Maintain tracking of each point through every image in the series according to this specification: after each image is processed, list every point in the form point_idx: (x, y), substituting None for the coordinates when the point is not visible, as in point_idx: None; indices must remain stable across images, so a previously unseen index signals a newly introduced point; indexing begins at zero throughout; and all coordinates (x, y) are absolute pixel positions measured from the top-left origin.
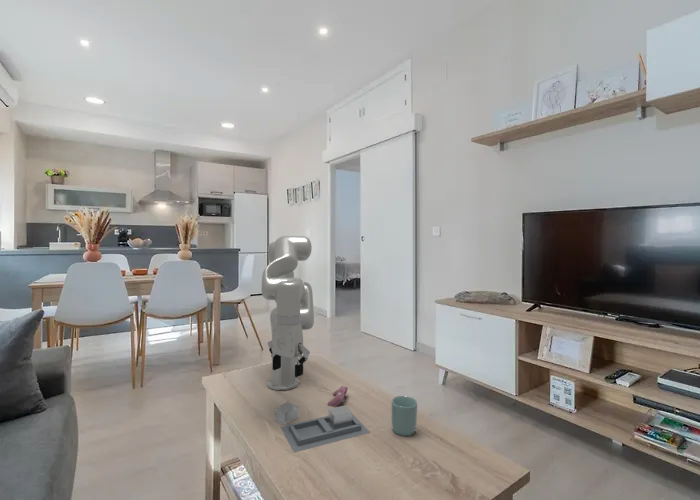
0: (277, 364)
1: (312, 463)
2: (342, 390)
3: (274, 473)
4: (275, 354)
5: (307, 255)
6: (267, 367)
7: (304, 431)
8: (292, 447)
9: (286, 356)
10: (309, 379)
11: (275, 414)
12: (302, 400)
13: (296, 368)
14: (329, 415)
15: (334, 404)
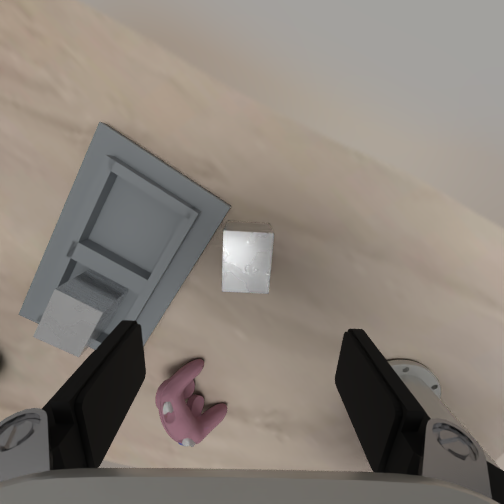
0: (354, 382)
1: (40, 125)
2: (166, 423)
3: (82, 17)
4: (423, 475)
5: None
6: (493, 440)
7: (156, 227)
8: (122, 140)
9: (110, 487)
10: (341, 442)
11: (268, 229)
12: (286, 354)
13: (79, 371)
14: (105, 299)
15: (180, 370)
